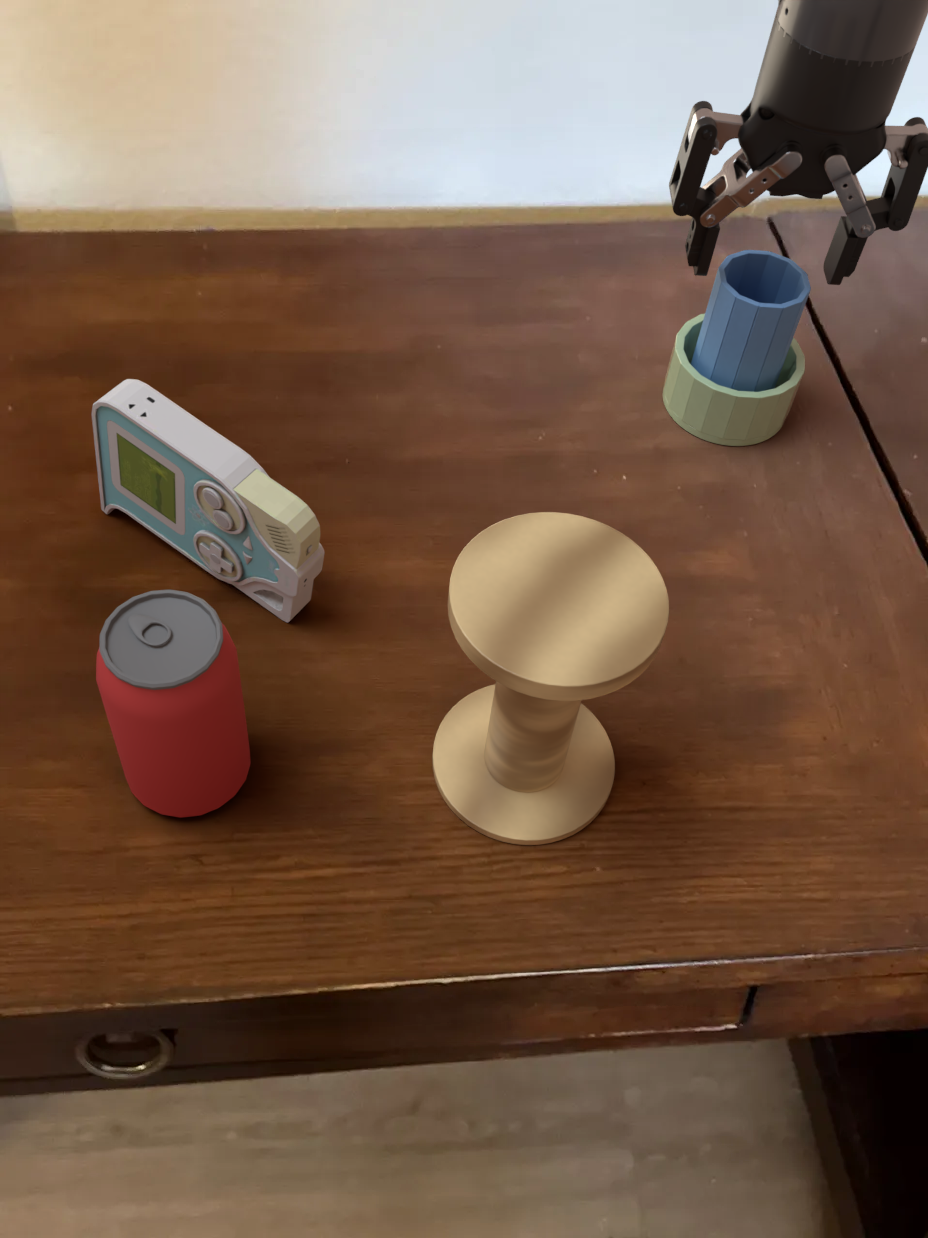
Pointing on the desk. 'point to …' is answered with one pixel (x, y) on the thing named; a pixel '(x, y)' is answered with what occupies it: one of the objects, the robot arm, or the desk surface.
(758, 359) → the blue cup
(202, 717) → the beer can
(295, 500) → the handheld gaming console
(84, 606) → the desk surface
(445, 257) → the desk surface
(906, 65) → the robot arm
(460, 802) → the stand
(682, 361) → the green cup
